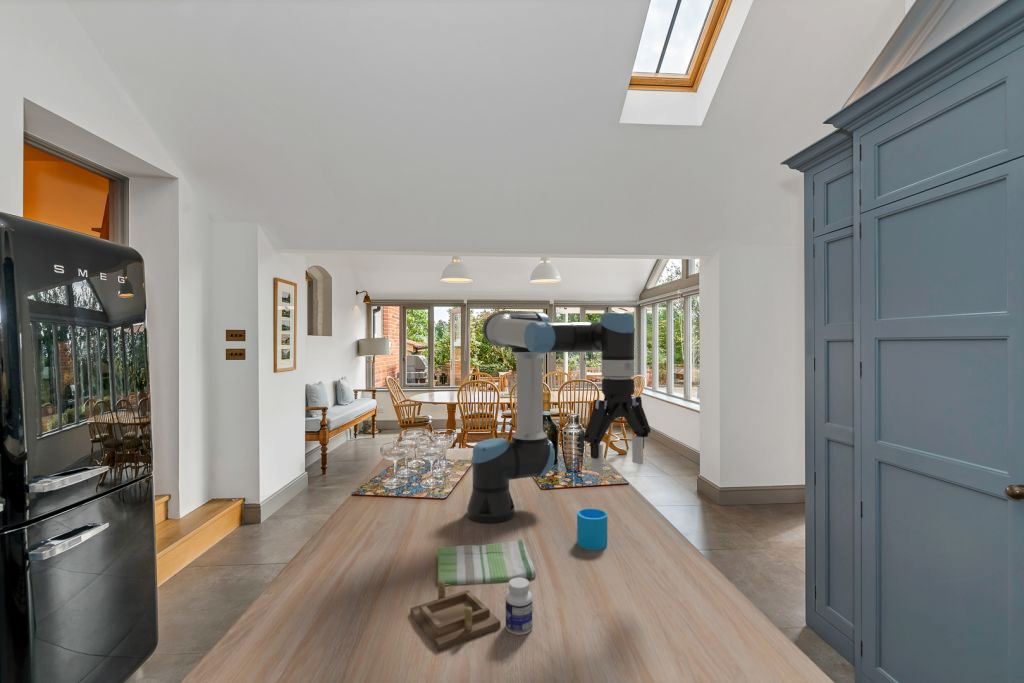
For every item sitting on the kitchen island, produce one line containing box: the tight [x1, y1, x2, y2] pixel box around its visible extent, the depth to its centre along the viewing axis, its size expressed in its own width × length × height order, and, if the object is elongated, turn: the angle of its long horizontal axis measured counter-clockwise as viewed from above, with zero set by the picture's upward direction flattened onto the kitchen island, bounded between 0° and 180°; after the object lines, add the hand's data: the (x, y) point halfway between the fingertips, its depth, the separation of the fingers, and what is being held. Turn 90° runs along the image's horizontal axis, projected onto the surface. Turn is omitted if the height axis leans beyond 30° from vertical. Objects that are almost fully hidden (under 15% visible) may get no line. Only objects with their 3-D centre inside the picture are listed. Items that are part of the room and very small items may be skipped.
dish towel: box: [436, 538, 537, 585], centre depth 120 cm, size 17×23×4 cm
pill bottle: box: [505, 578, 534, 636], centre depth 95 cm, size 5×5×9 cm
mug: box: [576, 508, 608, 551], centre depth 135 cm, size 12×8×8 cm
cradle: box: [409, 580, 502, 652], centre depth 97 cm, size 14×13×5 cm
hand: (618, 467), depth 115 cm, fingers open, 13 cm apart
